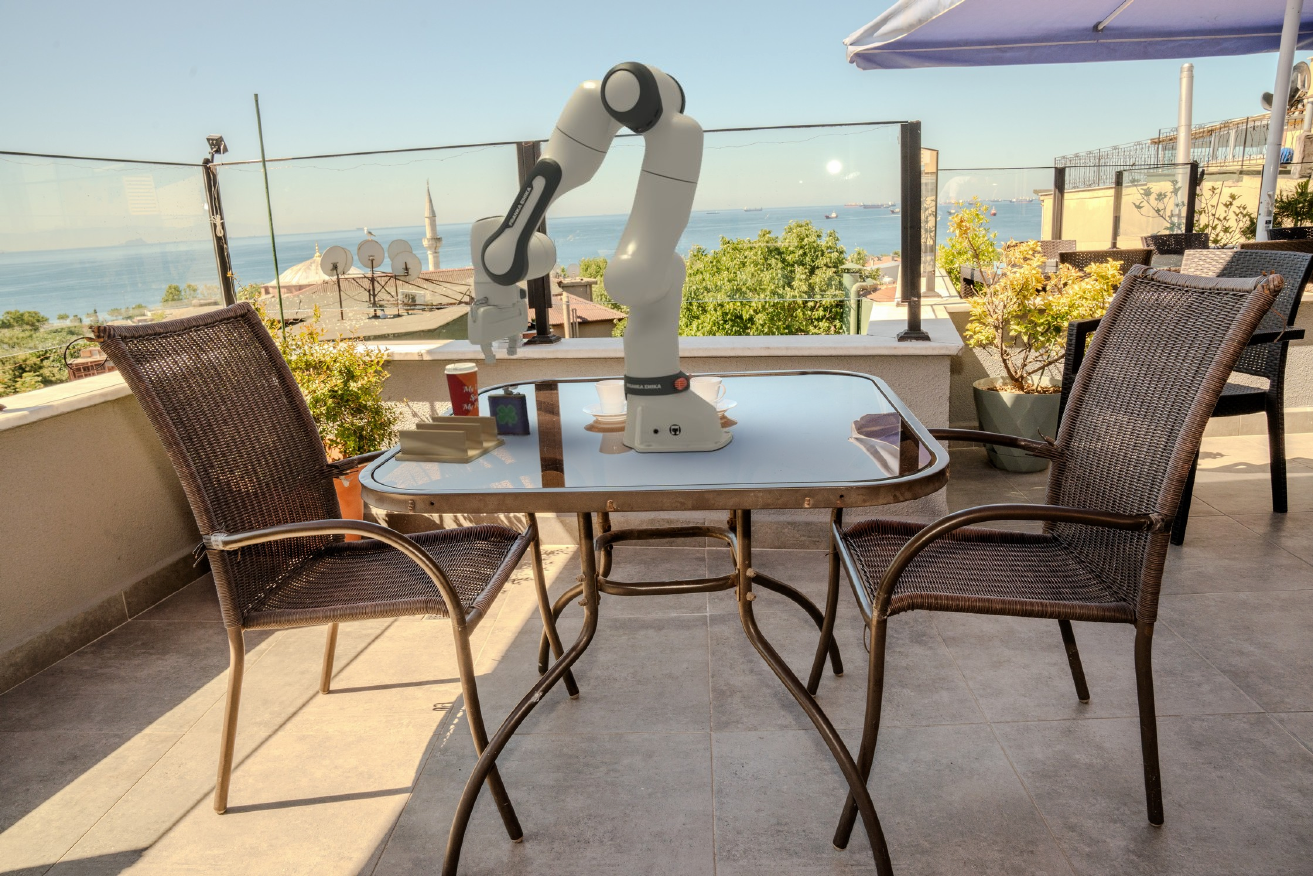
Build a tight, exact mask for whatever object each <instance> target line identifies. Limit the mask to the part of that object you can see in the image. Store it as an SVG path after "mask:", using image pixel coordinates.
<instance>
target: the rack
mask: <svg viewBox="0 0 1313 876" xmlns="http://www.w3.org/2000/svg"><path fill="white" fill-rule="evenodd" d="M431 420H432V421H431V422H430V421H429V422H427V421H424V422H423V421H422V422H421V421H418V422H416V423H415V429H408V428H407V429H405V428H402V429H399V430H398V432H397V433H398V437H399V444H400V445H399V446H400V451H401V452H400V453H397V454H395V455H394V459H395V461H405V462H406V461H409V462H430V463H432V462H433V463H452V464H453V463H454V464H455V463H456V464H469V463H471V462H473V461H475V460H477V459H478V458H481V456H484V455H486V454H487V453H490V452H491V451H493V450H495V449H497V448H498V447H500V446H502V445H504V444H505V443H506V442H505V441H506V440H505V438H501V437H498V436H499V435H497V427H496V418H495V417H490V416H485V415H484V416H480V415H479V416H454V415H435V414H434V415H432V416H431Z"/></svg>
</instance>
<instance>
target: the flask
mask: <svg viewBox="0 0 1313 876" xmlns="http://www.w3.org/2000/svg"><path fill="white" fill-rule="evenodd" d="M510 388H511V386H510V385H508V386H505V387H503V388H501V390H502V391H503V393H493V394H491V393H490V394H489V395H487V402H488V408H489V417H495V418H496V427H497V436H523V437H524V436H529V435H531V431H530V430H531V429H530V427H531V426H530V420H529V414H528V404H527V395H526V394H524V393H521V392H518V391H517V392H514V391H513V390H511V389H510Z"/></svg>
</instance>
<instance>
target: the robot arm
mask: <svg viewBox="0 0 1313 876" xmlns="http://www.w3.org/2000/svg"><path fill="white" fill-rule="evenodd" d="M685 94H686V93H685V91H684V89H683V87H682V85H681V83H679V81H678V80H677V79H676V78H675V77H674V76H672V75H670V74H669V73H665V72H664V71H662V70H661V69H660V68H658V67H655V66H653V65H650V64H644V63H641V62H637V61H624V62H620V63H618V64H616V65H615V66H613V67H611V68H610V69H609V70H608V71H607V72H606V74H605V75H604V77H603V80H600V79H586V80H584V81H582V82H580V83H579V85H578V86H577V87H576V88H575V90H574V92H573V93H572V95H571V96H570V98H569V99H568V101H567V102H566V104H565V106H564V108H563V110H562V112H561V114H560V115H559V118H558V119H557V122H556V124H555V126H554V129H553V131H552V133H551V135H550V137H549V139H548V142H547V143H546V145H545V147H544V149H543V151H542V153H541V155H540V156H539V158H538V160H537V161H536V163H535V164H534V166H533V167H532V169H531V171H530V172H529V174H528V175H527V177H526V179H525V180H524V182H523V184H522V186H521V187H520V189H519V191H518V194H517V195H516V197H515V198H514V200H513V202H512V205H511V206H510V208H509V210H508V212H507V214H506V215H493V216H487V217H482V218H479V219H477V220H475V222H474V223H472V225H471V229H470V238H469V241H470V244H469V245H470V246H469V247H470V257H471V263H472V266H473V270H474V276H473V289H474V298H475V299H473V300H472V303H471V304H470V307H469V311H468V313H467V338H468V339H467V340H468V341H469V343H470V344H471V345H472V346H480V350H481V351H482V353H483V355H484V361H485V364H488V365H490V364H494V363H496V361H497V356H496V354H494V352H493V349H492V348H493V347H494V346H493V343H494V342H498V341H499V340H500V341H501V340H503V339H507V340H508V346H507V347H506V355H507V356H508V357H510V356H511V357H514V356H516V355H517V354H518V348H517V347H518V344H519V340H520V335H519V334H522V333H526V332H528V328H529V327H528V326H529V310H528V303H527V301H526V300H527V299H528V296H529V295H528V290H527V289H526V288H524V287H522V286H520V285H518V284H519V283H521V282H524V281H529V280H534V279H538V278H543V277H544V276H546V275H548V274H549V273H550V272H551V271H552V270H554V268H555V265H556V263H557V249H556V246H555V243H554V242H553V240H552V239H551V238H550V237H549V236H548V235H547V234H545V233H543V232H538V231H537V230H538V228H539V227H540V224H541V223H542V221H543V220H544V217H545V216H546V214H547V212H548V210H549V209H550V207H551V206H552V205H553V204H554V203H555V202H556V201H557V200H558V199H559V198H560V197H561V196H562V197H563V196H564V195H565V194H566V193H568V192H571V191H572V190H574V189H577V188H578V187H581V186H583V185H586V184H587V183H588V182H590V181H591V180H592V179H593V177H594V176H595V174H596V173H597V172H598V171H599V169H600V168H601V167H602V166H601V165H602V164H603V162H604V161H605V158H606V156H607V154H608V152H609V150H610V147H611V145H612V142H613V141H614V138H615V136H616V135H617V134H618V132H619V131H621V129H622V128H627V129H628V130H630V131H631V132H633V133H634V134H636V135H642V137H643V138H644V146H645V147H644V154H643V159H642V163H641V167H640V173H639V176H638V180H637V184H636V186H637V187H636V190H635V194H634V199H633V204H632V208H631V210H630V215H629V217H628V219H627V222H626V225H625V227H624V229H623V231H622V234H621V235H620V239H619V241H618V244H617V247H616V249H615V252H614V254H613V256H612V258H611V260H610V261H609V262H608V263H607V265H606V267H605V269H604V271H603V276H602V277H603V278H602V282H603V287H604V291H605V293H606V294H607V296H608V297H609V298H610V299H611V301H613V302H614V303H616V304H618V305H620V306H623V307H628V308H629V310H628V317H627V322H626V327H625V329H624V331H623V338H622V341H623V353H624V368H625V373H624V374H623V393H624V397H625V401H626V414H625V416H626V418H625V427H624V431H623V432H624V434H623V438H622V444H624V445H625V446H626V447H629V448H632V449H633V450H635V451H636V452H639V453H661V452H663V453H669V452H670V453H671V452H673V453H675V452H710V451H711V452H712V451H714V450H718V449H721V448H723V447H725V446H726V445H728V444H729V443H730V442H731V441H732V439H733V432H732V431H731V429H729V428H722V425H721V419H720V415H719V412H718V409H717V408H716V406H714V405H713V404H711V402H708V401H707V400H706V399H705V398H703V397H701V396H700V395H698V394H697V393H696V392H695V391H693V390H692V389H691V380H692V373H689V374H686V373H685V372H684V371H683V370H681V367H680V365H681V364H680V361H681V359H680V344H679V343H680V342H679V340H680V339H679V325H680V318H681V317H680V316H681V310H682V309H681V307H682V300H683V288H684V284H685V281H686V278H687V265H686V264H685V263H686V262H685V260H684V259H683V257H682V256H681V255H680V254H679V253H678V252H677V251H676V249H677V247H678V243H679V241H680V239H681V237H682V235H683V233H684V231H685V229H686V228H687V227H688V224H689V220H690V216H691V213H692V212H691V211H692V208H693V205H694V200H695V196H696V191H697V188H698V187H697V186H698V182H699V178H700V174H701V170H702V168H701V167H702V161H703V153H704V141H705V140H704V139H705V134H704V130H703V127H702V125H701V124H700V123H699V122H698V121H697V120H695V118H693V117H692V116H689V115H688V114H684V112H685V110H686V103H687V102H686V101H687V100H686V95H685Z"/></svg>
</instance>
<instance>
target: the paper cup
mask: <svg viewBox="0 0 1313 876" xmlns="http://www.w3.org/2000/svg"><path fill="white" fill-rule="evenodd" d="M478 370H479V368H478V367H477V365H476V363H474V362H459V363H452V364H447V365H446V366H445V371H444V374H445V375H446V376H445V377H446V380H447V386H448V393H449V397H450V404H451V408H452V409H451V410H452V413H453V416H480V405H479V404H480V403H479V386H478Z"/></svg>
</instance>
